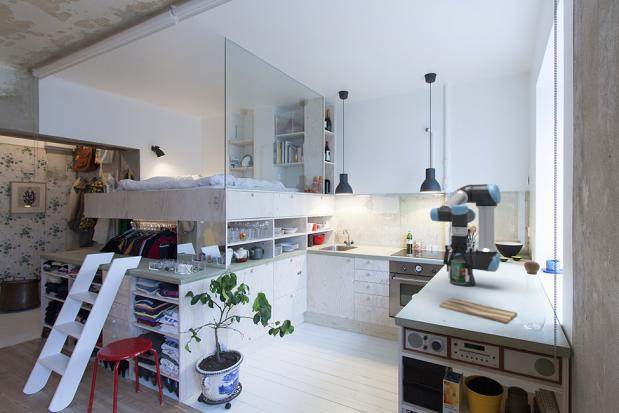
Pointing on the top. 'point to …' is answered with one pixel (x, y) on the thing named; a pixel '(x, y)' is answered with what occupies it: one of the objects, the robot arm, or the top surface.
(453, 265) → the canned tomato
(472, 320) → the top surface
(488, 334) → the top surface
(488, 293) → the top surface
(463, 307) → the board
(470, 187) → the robot arm
